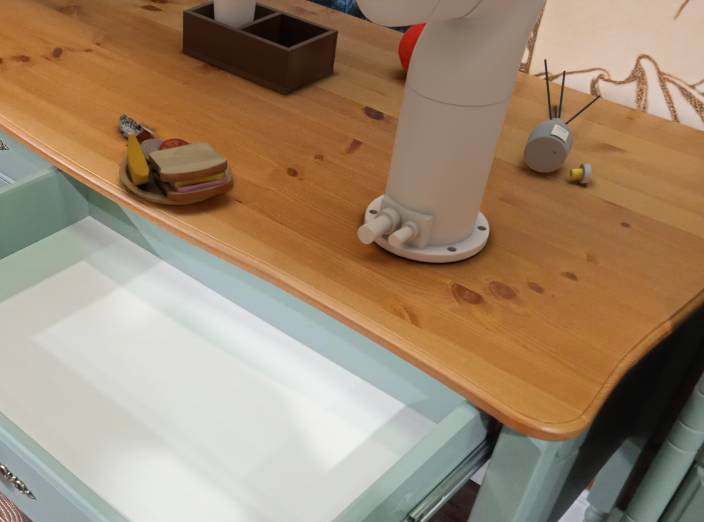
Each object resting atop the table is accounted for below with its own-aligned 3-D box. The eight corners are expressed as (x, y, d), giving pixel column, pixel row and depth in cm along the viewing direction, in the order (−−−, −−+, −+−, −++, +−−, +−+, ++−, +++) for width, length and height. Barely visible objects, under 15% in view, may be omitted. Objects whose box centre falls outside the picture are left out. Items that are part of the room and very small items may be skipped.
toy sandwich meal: (217, 146, 101) (218, 109, 97) (245, 209, 91) (248, 169, 88) (112, 156, 99) (110, 118, 96) (130, 220, 90) (128, 181, 86)
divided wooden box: (284, 95, 112) (288, 51, 108) (182, 52, 122) (182, 10, 118) (333, 73, 117) (338, 30, 113) (231, 34, 127) (232, -7, 123)
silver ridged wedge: (134, 141, 101) (152, 153, 103) (144, 124, 100) (162, 136, 102) (112, 129, 105) (130, 140, 107) (122, 112, 105) (139, 124, 107)
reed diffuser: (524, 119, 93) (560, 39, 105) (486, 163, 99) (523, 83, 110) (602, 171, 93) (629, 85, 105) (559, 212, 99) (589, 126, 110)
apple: (412, 60, 120) (422, 6, 115) (463, 76, 117) (476, 20, 112) (382, 78, 116) (392, 22, 111) (434, 95, 112) (446, 38, 107)
